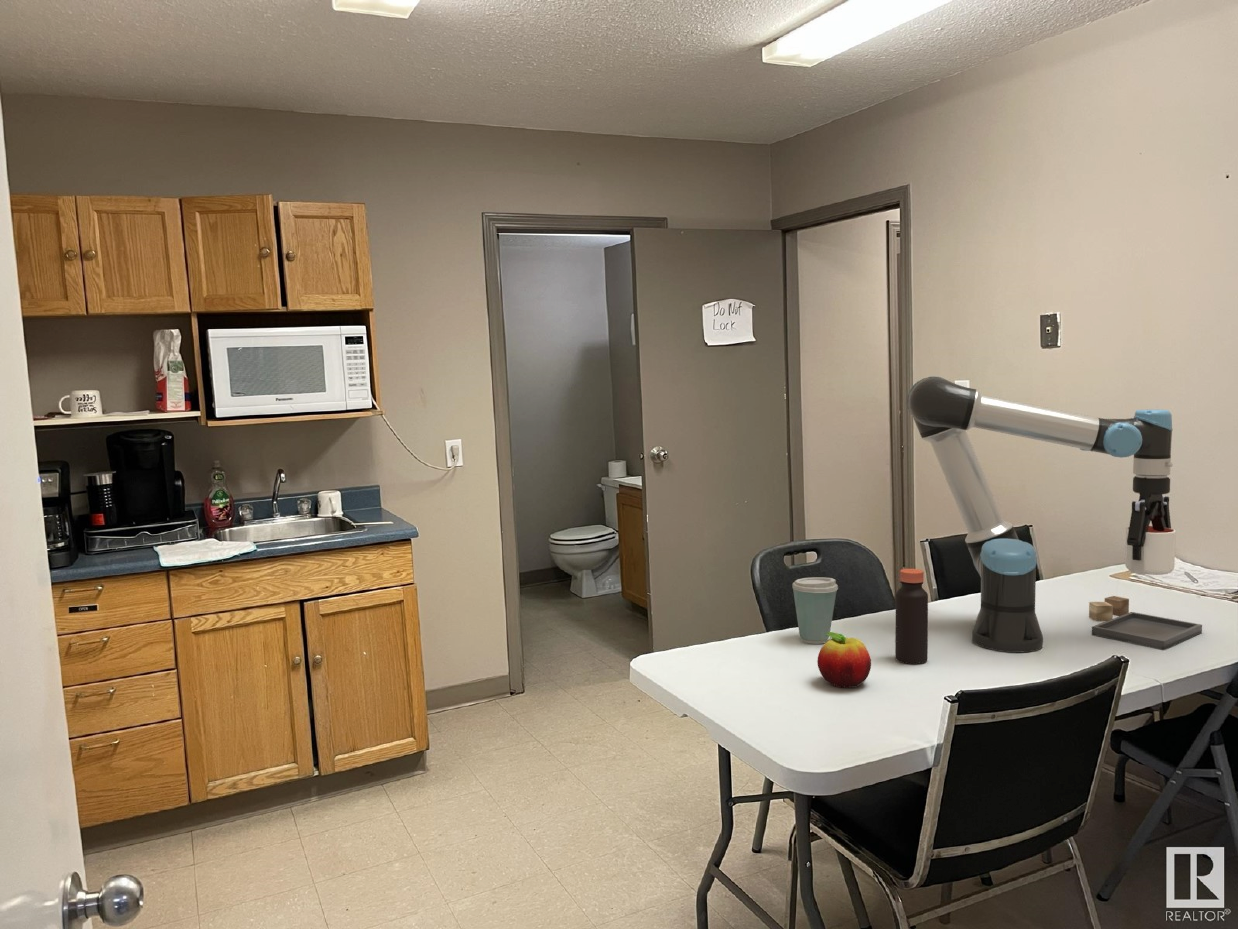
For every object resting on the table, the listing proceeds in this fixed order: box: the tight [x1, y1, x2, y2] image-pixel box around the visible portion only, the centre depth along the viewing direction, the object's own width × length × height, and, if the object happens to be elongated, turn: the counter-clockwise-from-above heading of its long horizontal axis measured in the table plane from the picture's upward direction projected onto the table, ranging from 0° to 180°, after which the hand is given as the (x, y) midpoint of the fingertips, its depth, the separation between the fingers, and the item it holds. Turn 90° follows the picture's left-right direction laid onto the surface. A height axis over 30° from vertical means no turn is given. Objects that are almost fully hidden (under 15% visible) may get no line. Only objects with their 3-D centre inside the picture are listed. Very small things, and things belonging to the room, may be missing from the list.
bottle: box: [894, 568, 929, 665], centre depth 202 cm, size 7×7×20 cm
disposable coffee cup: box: [791, 576, 839, 645], centre depth 219 cm, size 11×11×15 cm
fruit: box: [816, 631, 872, 689], centre depth 189 cm, size 11×11×10 cm
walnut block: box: [1104, 595, 1130, 617], centre depth 236 cm, size 4×4×4 cm
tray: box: [1091, 611, 1203, 651], centre depth 218 cm, size 20×16×2 cm
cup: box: [1124, 525, 1177, 576], centre depth 216 cm, size 10×10×10 cm
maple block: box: [1088, 601, 1114, 622], centre depth 231 cm, size 4×4×4 cm
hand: (1148, 570), depth 216 cm, fingers closed on cup, 10 cm apart
